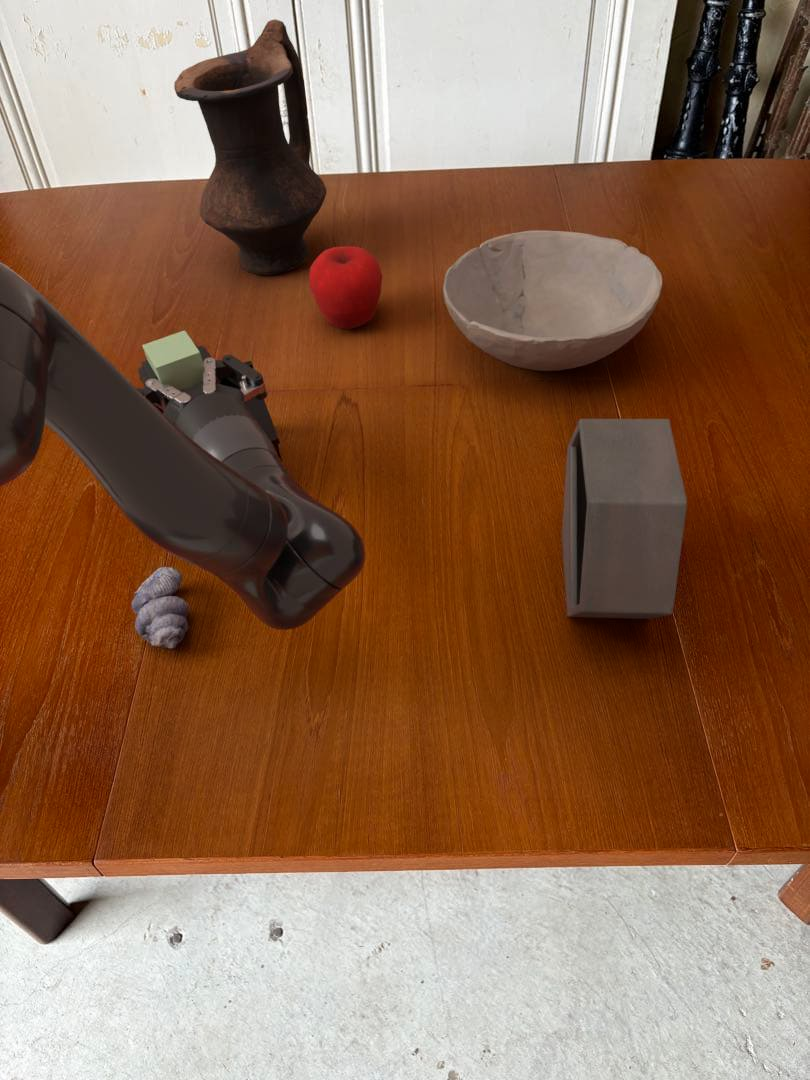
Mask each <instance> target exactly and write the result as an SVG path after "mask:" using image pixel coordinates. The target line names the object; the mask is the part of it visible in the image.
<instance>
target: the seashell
mask: <svg viewBox="0 0 810 1080" xmlns="http://www.w3.org/2000/svg"><path fill="white" fill-rule="evenodd" d="M182 582H183V575H182V573H181V572H180V571H179V570H177V569H176V568H175V567H173V566H172V567H171V566H161V567H159V568H157V569H155V571H153V573H152V574H151V575H150V576H149V577H147V578H146V579H145V580H144V581H143V582H141V584H140V586H139V588H137V590H136V591H135V592H133V594H134V597H133V599H132V601H131V609H132V611H133V613H134V614H136V618H135V622H134V629H135V631H136V632H137V634H138V636H140V637H141V638H142V639H144V640H145V641H146V642H148V643H149V644H151V647H159V648H164V649H169V650H171V649H176V647H177V644H179V643H180V642H181V641H183V639H184V637H185V634H186V632H187V631H188V630H189V623H188V620H187V618H188V616H189V609H190V607H189V604H188V603H187V602H186V601H185V600H184V599H183V598H182V597H181V598H180V597H178V596H177V595H175V596H174V595H173V594H175V593H177V591H178V590H179V588H180V586H181V583H182Z"/></svg>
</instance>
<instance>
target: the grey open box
mask: <svg viewBox="0 0 810 1080" xmlns="http://www.w3.org/2000/svg"><path fill="white" fill-rule="evenodd" d="M564 478H565V480H564V494H563V509H562V510H563V511H562V524H561V525H562V526H561V549H562V562H563V574H564V576H563V577H564V587H565V590H564V591H565V599H566V600H565V602H566V615H567V617H568V618H586V619H587V618H591V619H592V618H594V619H632V620H635V619H637V620H649V619H655V618H660V617H665V616H671V615H673V614H674V608H675V607H674V606H675V598H676V591H677V585H678V578H679V577H678V576H679V570H680V561H681V554H682V547H683V541H684V540H683V538H684V531H685V523H686V516H687V508H688V500H687V495H686V490H685V486H684V482H683V476H682V473H681V468H680V463H679V458H678V453H677V449H676V445H675V440H674V435H673V431H672V425H671V421H670V419H669V418H580V419H579V420H578V422H577V424H576V426H575V429H574V431H573V433H572V436H571V438H570V440H569V443H568V444H567V447H566V463H565V477H564Z"/></svg>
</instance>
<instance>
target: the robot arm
mask: <svg viewBox="0 0 810 1080" xmlns="http://www.w3.org/2000/svg"><path fill="white" fill-rule="evenodd" d="M193 343H194V344H195V346H196V347H197V349H198V350H199V352H200V354H201V357H202V361H203V364H204V370H203V381H202V382H200V383H197V384H195V385H194V386H192V387H190V388H185V389H181V390H177V389H176V388H174V387H173V386H171V385H170V384H168V383H166V384H163V383H161V382H160V381H159V380H158V378H157V376H156V374H155V372H154V371H153V369H152V367H151V365H150V364H149V362H148V360H147V359H145V360H143V361H141V362H140V364H141V367H140V366H139V367H138V368H137V372H138V375H139V377H140V380H141V383H142V384H143V387H141V388H140V387H136V386H135V385H134V384H133V383H132V382H131V381H130V380H129V379H128V378H127V377H126V376H125V375H124V374H123V373H121V371H120V370H119V369H117V367H115V365H113V364H112V362H110V361H109V360H108V359H107V357H105V356H104V355H103V354H102V353H101V352H100V351H99V350H98V349H97V348H96V346H94V345H93V344H92V343H91V342H90V341H89V340H88V339H87V338H86V337H85V335H83V334H82V333H81V332H80V331H79V330H78V329H77V328H76V327H75V326H74V325H73V324H72V323H71V321H70V320H69V319H67V318H66V317H65V316H64V315H63V314H62V313H61V312H60V311H59V310H58V309H57V308H56V307H55V306H54V304H53V303H51V302H50V301H49V300H48V299H47V298H46V297H45V296H44V295H43V294H42V293H40V292H39V291H38V290H37V289H36V288H35V287H34V286H33V285H32V284H30V283H29V282H28V281H27V280H25V279H24V278H23V277H22V276H20V274H18V273H17V272H15V271H14V270H13V269H12V268H10V267H9V266H8V265H6V264H5V263H3V262H1V261H0V488H2V487H3V486H6V485H7V484H10V483H11V482H12V481H14V480H16V479H17V478H19V476H21V475H22V474H23V473H25V471H27V470H28V468H30V466H31V465H32V464H33V462H34V461H35V459H36V457H37V454H38V452H39V449H40V447H41V445H42V444H41V443H42V440H43V434H44V429H45V426H46V427H48V428H49V429H50V430H51V431H53V432H54V433H55V434H56V435H57V436H58V437H59V438H60V439H61V440H62V441H63V442H64V443H65V444H66V445H67V447H68V448H69V449H71V450H72V451H73V453H74V454H76V456H77V457H78V458H79V459H80V461H81V462H82V463H83V464H84V465H85V467H86V468H88V470H89V471H90V472H91V474H92V475H93V476H94V478H96V480H97V481H98V482H99V483H100V485H101V486H102V488H103V489H104V490H105V491H106V493H107V495H109V497H110V498H111V499H112V500H113V502H114V503H115V505H117V507H118V508H119V509H120V511H121V512H122V513H123V514H124V515H125V517H126V518H127V519H128V521H130V522H131V523H132V524H133V525H134V526H135V528H136V529H137V530H138V531H140V533H142V534H143V535H144V536H145V537H146V539H148V540H149V541H151V542H152V543H154V544H155V545H156V546H157V547H159V548H160V549H163V550H164V551H166V552H167V553H170V554H171V555H173V556H174V557H177V558H179V559H181V560H183V561H185V562H187V563H190V564H191V565H193V566H195V567H198V568H200V569H202V570H204V571H206V572H208V573H210V574H212V575H214V576H216V577H217V578H218V579H220V581H222V582H223V583H225V584H226V585H227V586H228V587H229V588H230V589H232V590H233V592H235V594H237V595H238V596H239V598H240V599H241V600H242V601H243V602H244V604H245V605H246V606H247V607H248V609H249V610H250V611H251V612H252V614H254V616H256V618H258V619H259V620H260V621H261V623H263V624H264V625H266V626H268V627H270V628H271V629H274V630H280V631H281V630H282V631H289V630H295V629H297V628H300V627H302V626H304V625H305V624H307V623H308V622H309V621H311V619H313V618H314V617H315V616H317V614H318V613H319V612H320V611H322V609H323V608H324V607H325V606H327V605H328V604H329V603H331V601H332V600H333V599H334V598H335V597H337V595H338V594H340V593H341V592H342V591H343V589H345V588H347V587H348V585H350V584H351V583H352V582H353V581H354V580H355V579H356V578H357V577H358V576H359V575H360V574H361V572H362V571H363V568H364V567H365V562H366V546H365V543H364V539H363V537H362V536H361V534H360V533H359V531H358V530H357V529H356V528H355V526H354V525H353V524H352V523H351V522H349V521H348V520H347V519H346V518H344V517H343V516H341V514H339V513H337V511H334V510H333V509H331V508H329V507H328V506H326V505H324V504H323V503H321V502H320V501H318V500H317V499H315V498H314V497H313V496H311V495H310V494H308V493H307V491H306V490H304V489H303V488H302V487H301V485H300V484H299V483H298V482H297V481H296V480H295V479H294V477H293V475H292V474H291V473H290V472H289V470H288V469H287V467H286V466H285V464H284V463H283V460H282V461H281V460H280V458H279V457H278V455H277V452H276V450H275V448H274V446H273V444H272V442H271V441H270V439H269V438H268V436H267V435H266V433H265V432H264V431H263V429H262V428H261V426H260V425H259V423H258V422H257V421H256V419H255V418H254V416H253V415H252V414H251V412H250V411H249V409H248V408H247V406H246V402H247V401H249V400H250V399H252V398H256V399H258V400H263V399H264V400H265V399H267V397H268V393H267V389H266V385H265V381H264V377H263V374H262V373H261V372H259V371H258V370H256V369H253V368H254V367H253V368H251V367H250V366H248V365H246V364H245V363H243V362H244V361H242V360H240V359H239V358H238V357H235V356H234V355H233V354H225V355H223V356H222V358H221V359H215V358H214V357H212V355H211V354H210V352H209V351H208V350H207V348H206V347H205V346H203V345H197V343H196V342H193ZM221 378H227V379H228V380H229V381H231V382H232V383H234V384H235V385H237V386H238V387H240V388H241V390H239V389H237V388H233V387H229V386H225V385H221ZM153 404H154V405H156V406H157V407H159V408H160V409H162V410H163V411H164V413H161V412H160V411H159V410H158V409H157V408H156V407H155V406H154V405H153Z"/></svg>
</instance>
